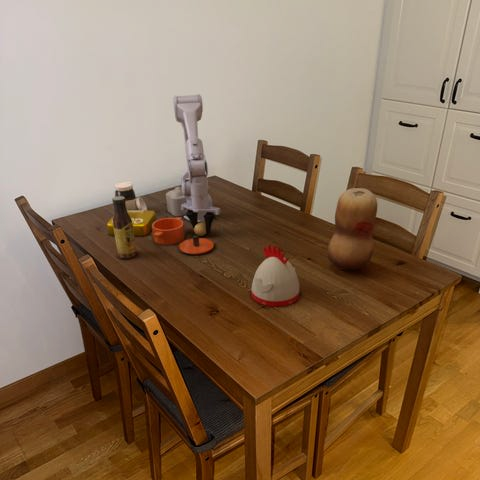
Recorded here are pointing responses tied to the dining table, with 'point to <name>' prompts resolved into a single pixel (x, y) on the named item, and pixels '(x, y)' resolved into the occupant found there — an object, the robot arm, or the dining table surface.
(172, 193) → the lumpy-topped squat cylinder
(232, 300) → the dining table surface
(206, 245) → the pot lid
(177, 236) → the pot
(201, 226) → the potato
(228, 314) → the dining table surface
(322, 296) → the dining table surface
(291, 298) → the kitchen timer
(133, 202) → the spread jar
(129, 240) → the sauce bottle
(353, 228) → the butternut squash
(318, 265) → the dining table surface
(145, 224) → the yellow square tin
